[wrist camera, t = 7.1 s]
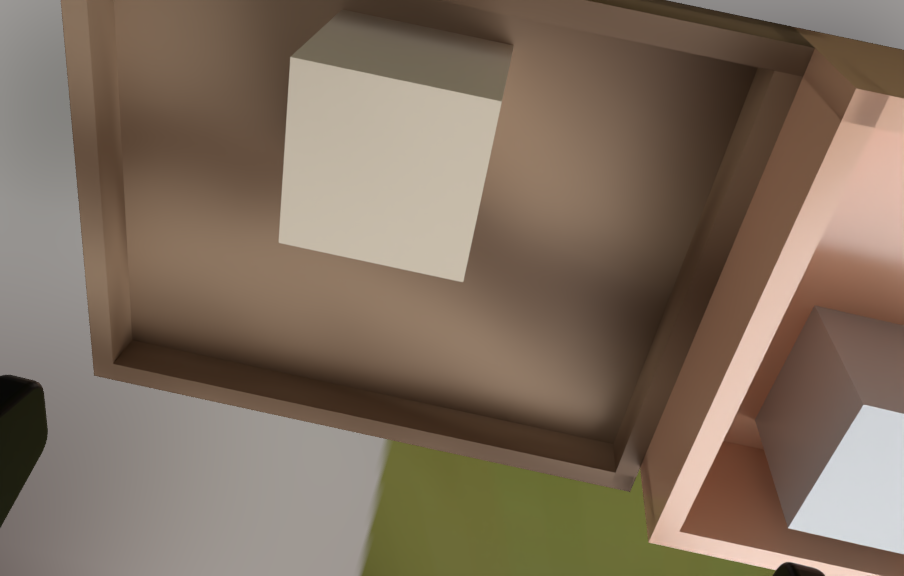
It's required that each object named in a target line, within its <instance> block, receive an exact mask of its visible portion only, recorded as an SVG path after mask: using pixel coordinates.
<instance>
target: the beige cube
mask: <svg viewBox="0 0 904 576" xmlns="http://www.w3.org/2000/svg"><path fill="white" fill-rule="evenodd" d="M513 48H514V45H509V44H505V43H500V42H495V41H490V40H485V39H481V38H476V37H471V36H466V35H462V34H457V33H452V32H447V31H443V30H438V29H433V28H428V27H423V26H419V25H414V24H409V23H404V22H400V21H395V20H390V19H385V18H381V17H376V16H371V15H366V14H362V13H357V12H352V11H347V10H341V11H340V12H339V13H338V14H337V15H335V16H334V17H333V18H332V19H331V20H330V21H329V22H328V23H327V24H326V25H325V26H323V27H322V28H321V29H320V30H319V31H318V32H317V33H316V34H315V35H314V36H313V37H312V38H310V39H309V40H308V41H307V42H306V43H305V44H304V45H303V46H302V47H301V48H300V49H298V50H297V51H296V52H295V53H294V54H293V55H292V56H291V57H290V70H289V86H288V102H287V118H286V133H285V149H284V165H283V181H282V196H281V212H280V228H279V243H282V244H286V245H291V246H296V247H300V248H305V249H310V250H314V251H319V252H324V253H329V254H333V255H338V256H343V257H347V258H352V259H357V260H361V261H366V262H371V263H375V264H380V265H385V266H389V267H394V268H399V269H403V270H408V271H413V272H417V273H422V274H427V275H431V276H436V277H441V278H445V279H450V280H455V281H459V282H463V281H464V276H465V272H466V267H467V262H468V258H469V253H470V248H471V244H472V239H473V235H474V230H475V225H476V221H477V216H478V211H479V207H480V202H481V197H482V193H483V188H484V183H485V179H486V174H487V169H488V165H489V160H490V155H491V151H492V146H493V141H494V137H495V132H496V127H497V123H498V118H499V113H500V108H501V104H502V99H503V94H504V90H505V85H506V80H507V76H508V71H509V66H510V62H511V57H512V52H513Z"/></svg>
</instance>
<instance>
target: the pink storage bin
mask: <svg viewBox="0 0 904 576" xmlns="http://www.w3.org/2000/svg"><path fill="white" fill-rule="evenodd" d="M794 28H795V29H796V30H797V31H798V32H799V33H800V34H801V35H802V36H803V37H804V38H805V39H806V40H807V41H808V42H809V43H810V44H812V45H813V46H814V47H815V50H814V52H813V55H812V57H811V59H810V62H809V64H808V67H807V69H806V71H805V74H804V76H803V79H802V81H801V83H800V86H799V88H798V90H797V93H796V95H795V98H794V100H793V102H792V105H791V107H790V110H789V112H788V114H787V117H786V119H785V122H784V124H783V126H782V129H781V131H780V134H779V136H778V138H777V141H776V143H775V146H774V148H773V150H772V153H771V155H770V158H769V160H768V162H767V165H766V167H765V170H764V172H763V174H762V177H761V179H760V182H759V184H758V186H757V189H756V191H755V194H754V196H753V198H752V201H751V203H750V205H749V208H748V210H747V213H746V215H745V217H744V220H743V222H742V225H741V227H740V229H739V232H738V234H737V237H736V239H735V241H734V244H733V246H732V249H731V251H730V253H729V256H728V258H727V261H726V263H725V265H724V268H723V270H722V273H721V275H720V277H719V280H718V282H717V285H716V287H715V289H714V292H713V294H712V297H711V299H710V301H709V304H708V306H707V309H706V311H705V313H704V316H703V318H702V320H701V323H700V325H699V328H698V330H697V332H696V335H695V337H694V340H693V342H692V344H691V347H690V349H689V352H688V354H687V356H686V359H685V361H684V364H683V366H682V368H681V371H680V373H679V376H678V378H677V380H676V383H675V385H674V388H673V390H672V392H671V395H670V397H669V400H668V402H667V404H666V407H665V409H664V412H663V414H662V416H661V419H660V421H659V424H658V426H657V428H656V431H655V433H654V435H653V438H652V440H651V443H650V445H649V447H648V450H647V452H646V455H645V457H644V459H643V462H642V464H641V467H640V470H641V479H642V488H643V497H644V506H645V515H646V524H647V533H648V542H649V543H654V544H658V545H663V546H668V547H672V548H677V549H681V550H686V551H690V552H695V553H700V554H704V555H709V556H713V557H718V558H723V559H727V560H732V561H736V562H741V563H746V564H750V565H755V566H759V567H764V568H769V569H773V570H777V568H778V567H779V566H780V565H781V564H783V563H785V562H792V563H797V564H801V565H805V566H809V567H813V568H816V569H818V570H820V571H821V572H823V573H824V574H825V575H826V576H904V554H899V553H895V552H891V551H886V550H882V549H877V548H873V547H868V546H864V545H860V544H855V543H851V542H846V541H842V540H838V539H833V538H829V537H824V536H820V535H816V534H811V533H807V532H802V531H798V530H794V529H789V528H788V527H787V523H786V520H785V517H784V514H783V510H782V507H781V504H780V500H779V497H778V494H777V491H776V487H775V484H774V481H773V478H772V474H771V471H770V468H769V464H768V461H767V458H766V455H765V451H764V448H763V445H762V442H761V438H760V435H759V432H758V428H757V425H756V422H755V419H756V417H757V415H758V413H759V411H760V409H761V407H762V405H763V403H764V401H765V399H766V397H767V396H768V394H769V392H770V390H771V388H772V386H773V384H774V382H775V380H776V378H777V376H778V374H779V373H780V371H781V369H782V367H783V365H784V363H785V361H786V359H787V357H788V355H789V353H790V351H791V350H792V348H793V346H794V344H795V342H796V340H797V338H798V336H799V334H800V332H801V330H802V328H803V327H804V325H805V323H806V321H807V319H808V317H809V315H810V313H811V311H812V309H813V307H814V305H815V306H820V307H824V308H828V309H833V310H837V311H842V312H846V313H851V314H855V315H860V316H864V317H868V318H873V319H877V320H882V321H886V322H891V323H895V324H900V325H904V50H902V49H897V48H892V47H887V46H883V45H878V44H873V43H868V42H863V41H858V40H854V39H849V38H844V37H839V36H834V35H829V34H825V33H820V32H815V31H811V30H806V29H801V28H796V27H794Z"/></svg>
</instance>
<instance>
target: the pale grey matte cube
mask: <svg viewBox="0 0 904 576" xmlns="http://www.w3.org/2000/svg"><path fill="white" fill-rule="evenodd" d="M755 422H756V425H757V428H758V432H759V435H760V438H761V442H762V445H763V448H764V451H765V455H766V458H767V461H768V464H769V468H770V471H771V474H772V478H773V481H774V484H775V487H776V491H777V494H778V497H779V500H780V504H781V507H782V510H783V514H784V517H785V520H786V523H787V527H788V528H789V529H794V530H798V531H802V532H807V533H811V534H816V535H820V536H824V537H829V538H833V539H838V540H842V541H846V542H851V543H855V544H860V545H864V546H868V547H873V548H877V549H882V550H886V551H891V552H895V553H899V554H904V325H900V324H895V323H891V322H886V321H882V320H877V319H873V318H868V317H864V316H860V315H855V314H851V313H846V312H842V311H837V310H833V309H828V308H824V307H820V306H815V305H814V307H813V309H812V311H811V313H810V315H809V317H808V319H807V321H806V323H805V325H804V327H803V328H802V330H801V332H800V334H799V336H798V338H797V340H796V342H795V344H794V346H793V348H792V350H791V351H790V353H789V355H788V357H787V359H786V361H785V363H784V365H783V367H782V369H781V371H780V373H779V374H778V376H777V378H776V380H775V382H774V384H773V386H772V388H771V390H770V392H769V394H768V396H767V397H766V399H765V401H764V403H763V405H762V407H761V409H760V411H759V413H758V415H757V417H756V419H755Z"/></svg>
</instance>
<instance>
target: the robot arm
mask: <svg viewBox="0 0 904 576" xmlns="http://www.w3.org/2000/svg"><path fill="white" fill-rule="evenodd" d="M47 434H48V428H47V419H46V409H45V399H44V391H43V388H42V386H41V385H40V383H38V382H36V381H33V380H29V379H25V378H21V377H17V376H13V375H3V376H0V527H1V526H2V524H3V522H4V520H5V518H6V517H7V515H8V513H9V511H10V509H11V508H12V506H13V504H14V502H15V500H16V499H17V497H18V495H19V493H20V491H21V490H22V488H23V486H24V484H25V482H26V481H27V479H28V477H29V475H30V473H31V471H32V470H33V468H34V466H35V464H36V462H37V461H38V459H39V457H40V455H41V453H42V451H43V449H44V447H45V444H46V440H47ZM773 576H826V575H825V574H824V573H823V572H821V571H820V570H818V569H816V568H813V567H809V566H805V565H801V564H797V563H792V562H785V563H783V564H781V565H780V566H779V567H778V568H777V570H776V571H775V573H774V574H773Z"/></svg>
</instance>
